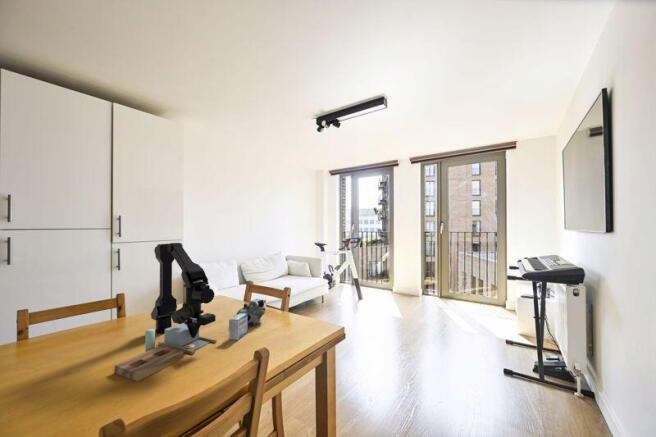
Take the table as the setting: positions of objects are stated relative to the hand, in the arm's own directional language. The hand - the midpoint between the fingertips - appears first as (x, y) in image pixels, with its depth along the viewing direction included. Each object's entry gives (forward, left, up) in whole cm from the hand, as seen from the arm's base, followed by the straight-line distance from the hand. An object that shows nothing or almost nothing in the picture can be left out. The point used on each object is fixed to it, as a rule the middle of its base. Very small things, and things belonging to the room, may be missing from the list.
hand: (193, 337), depth 110 cm
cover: (-6, 0, -3) cm, 7 cm away
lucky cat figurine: (+4, +29, -3) cm, 30 cm away
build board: (0, -17, -3) cm, 17 cm away
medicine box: (+11, +14, -3) cm, 18 cm away
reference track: (-3, 0, -3) cm, 4 cm away
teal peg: (-8, -12, -3) cm, 15 cm away
